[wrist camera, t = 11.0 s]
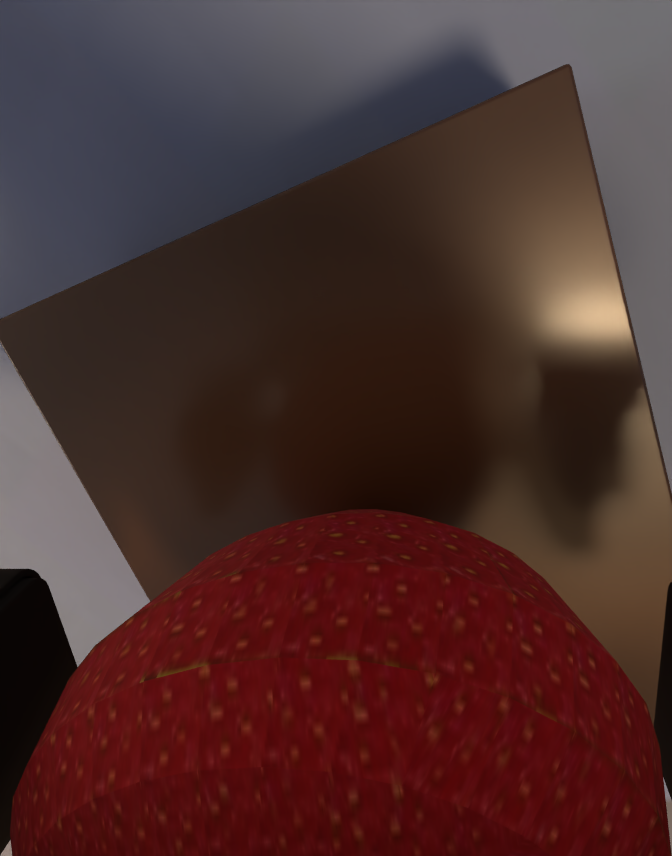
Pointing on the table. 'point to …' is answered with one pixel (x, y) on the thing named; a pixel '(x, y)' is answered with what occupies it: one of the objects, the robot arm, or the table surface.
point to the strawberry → (348, 711)
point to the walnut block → (382, 368)
